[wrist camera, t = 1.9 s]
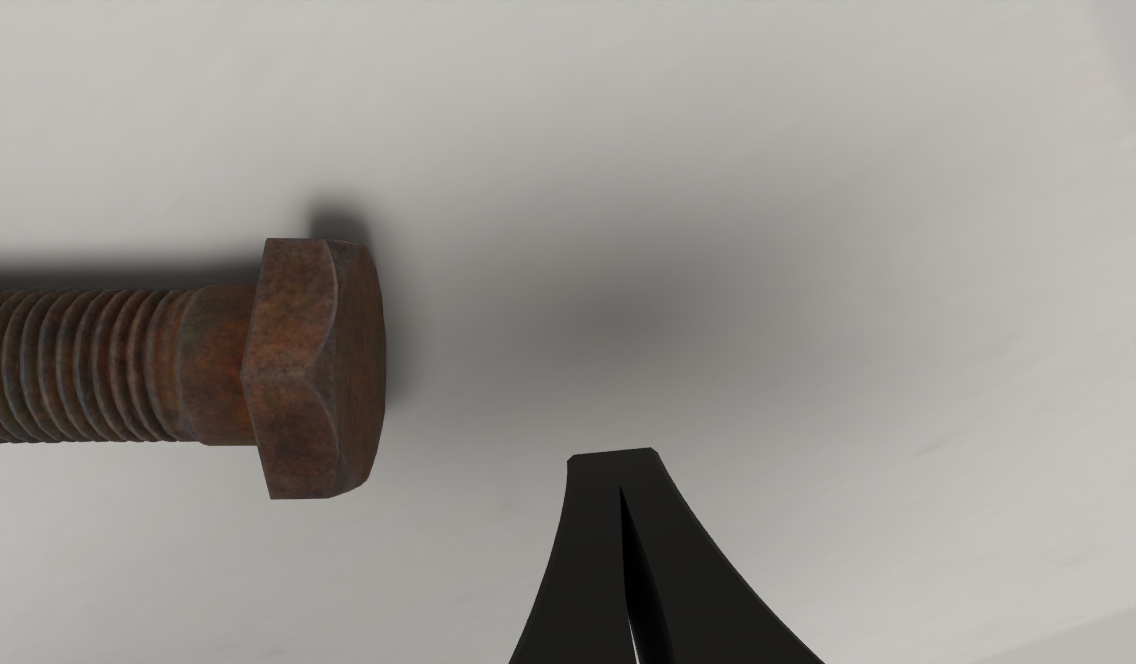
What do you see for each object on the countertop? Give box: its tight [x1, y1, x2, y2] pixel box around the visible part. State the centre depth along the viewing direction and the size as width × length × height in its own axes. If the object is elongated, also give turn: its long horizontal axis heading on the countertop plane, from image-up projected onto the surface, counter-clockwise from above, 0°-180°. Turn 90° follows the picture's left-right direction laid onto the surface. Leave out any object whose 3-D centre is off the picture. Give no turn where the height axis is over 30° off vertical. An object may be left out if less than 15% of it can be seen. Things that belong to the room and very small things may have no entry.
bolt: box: [0, 238, 386, 499], centre depth 16 cm, size 6×5×15 cm
